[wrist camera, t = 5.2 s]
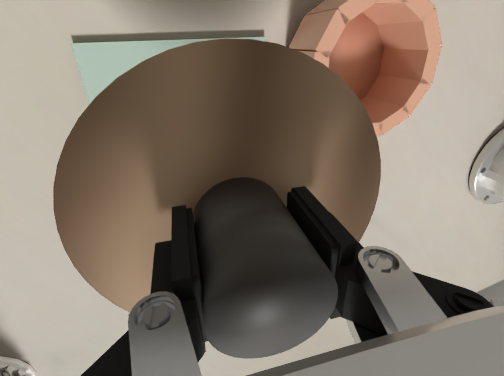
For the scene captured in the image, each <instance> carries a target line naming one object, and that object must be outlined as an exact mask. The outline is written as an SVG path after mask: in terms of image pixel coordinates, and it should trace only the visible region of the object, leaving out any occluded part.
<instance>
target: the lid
mask: <svg viewBox="0 0 504 376" xmlns="http://www.w3.org/2000/svg"><path fill="white" fill-rule="evenodd" d="M380 177H381V160H380V152H379V145H378V140H377V137H376V134H375V130H374V127H373V124H372V122H371V120H370V118H369V115H368V113H367V111H366V109H365V107H364V106H363V104H362V103H361V101H360V100H359V98H358V97H357V95H356V94H355V93H354V91H353V90H352V89H351V88H350V87H349V86H348V85H347V84H346V83H345V82H344V81H343V80H342V79H341V77H340V76H338V75H337V74H336V73H334V72H333V71H332V70H330V69H329V68H328V67H326V66H325V65H324V64H323V63H321V62H319V61H317V60H315V59H313V58H312V57H310V56H308V55H306V54H304V53H302V52H300V51H297V50H294V49H291V48H288V47H285V46H283V45H280V44H276V43H270V42H265V41H259V40H254V39H216V40H208V41H199V42H193V43H190V44H186V45H182V46H179V47H175V48H172V49H168V50H166V51H164V52H162V53H159V54H157V55H155V56H153V57H151V58H148V59H146V60H144V61H142V62H141V63H139V64H138V65H136V66H134V67H133V68H131V69H130V70H128V71H127V72H125V73H124V74H122V75H121V76H119V77H117V78H116V79H115V80H114V81H113V82H112V83H111V84H110V85H108V86H107V87H106V88H105V89H104V90H103V91H102V92H101V93H99V94H98V95H97V96H96V97H95V98H94V100H93V101H92V102H91V103H90V105H89V106H88V107H87V108H86V110H85V111H84V112H83V113H82V115H81V116H80V117H79V118H78V120H77V122H76V124H75V125H74V127H73V129H72V131H71V133H70V134H69V136H68V138H67V140H66V142H65V145H64V147H63V150H62V153H61V156H60V158H59V161H58V164H57V170H56V176H55V182H54V214H55V219H56V225H57V230H58V233H59V236H60V238H61V241H62V244H63V246H64V249H65V251H66V253H67V254H68V256H69V258H70V260H71V261H72V263H73V265H74V267H75V268H76V269H77V270H78V272H79V273H80V274H81V275H82V277H83V278H84V279H85V280H86V281H87V282H88V283H89V284H90V285H91V286H92V287H93V288H94V289H95V290H96V291H97V292H98V293H99V294H101V295H102V296H104V297H105V298H106V299H108V300H109V301H111V302H112V303H114V304H115V305H117V306H119V307H121V308H123V309H124V310H126V311H128V312H131V310H132V308H133V307H134V306H135V304H136V303H137V302H138V301H140V300H141V299H142V298H144V297H145V296H147V295H149V294H150V292H151V281H152V270H153V259H154V249H155V243H158V242H163V241H169V240H171V228H172V207H175V206H182V205H186V208H192V212H193V218H194V224H195V233H196V241H197V250H198V259H199V267H200V276H201V285H202V293H203V304H202V313H203V322H204V331H205V334H206V337H207V339H208V341H209V342H210V343H211V345H212V346H213V347H214V348H216V349H217V350H218V351H220V352H222V353H224V354H226V355H229V356H233V357H237V358H261V357H267V356H271V355H275V354H278V353H281V352H284V351H287V350H289V349H291V348H293V347H295V346H297V345H299V344H301V343H302V342H304V341H305V340H307V339H308V338H310V337H311V336H312V335H313V334H315V333H316V332H317V331H318V330H319V329H320V328H321V327H322V326H323V325H324V324H325V323H326V321H327V320H328V319H329V317H330V316H331V314H332V312H333V310H334V308H335V305H336V302H337V298H338V286H337V283H336V280H335V278H334V276H333V274H332V273H331V272H330V270H329V269H328V267H327V266H326V264H325V263H324V261H323V260H322V258H321V257H320V256H319V254H318V253H317V251H316V250H315V248H314V247H313V245H312V244H311V242H310V241H309V240H308V238H307V237H306V235H305V234H304V232H303V231H302V229H301V228H300V226H299V225H298V224H297V222H296V221H295V219H294V218H293V216H292V215H291V213H290V212H289V210H288V209H287V193H288V192H291V189H292V188H296V187H302V186H305V187H307V189H308V190H309V191H310V192H311V193H312V194H313V195H314V196H315V197H316V198H317V199H318V201H319V202H320V203H321V204H322V205H323V206H324V207H325V208H326V209H327V210H328V211H329V212H330V213H332V214H333V215H334V216H335V217H336V219H337V220H338V221H339V222H340V223H341V224H342V225H343V226H344V227H345V228H346V229H347V230H348V231H349V233H350V234H351V235H352V236H353V237H354V238H355V239H356V240H357V241H358V242H359V241H360V239H361V238H362V236H363V234H364V232H365V230H366V228H367V226H368V224H369V221H370V219H371V216H372V214H373V211H374V208H375V204H376V201H377V197H378V192H379V185H380Z"/></svg>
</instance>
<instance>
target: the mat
mask: <svg viewBox="0 0 504 376" xmlns="http://www.w3.org/2000/svg"><path fill="white" fill-rule="evenodd" d="M216 39H254V40H259V41H265V37H242V38H212V39H183V40H153V41H123V42H94V43H71V45H72V48H73V51H74V55H75V58H76V61H77V65H78V68H79V71H80V75H81V78H82V81H83V85H84V88H85V91H86V94H87V98H88V101H89V104H90V103H91V102H92V101H93V100H94V98H95V97H96V96H97V95H98V94H99V93H101V92H102V91H103V90H104V89H105V88H106V87H107V86H108V85H110V84H111V83H112V82H113V81H114V80H115V79H116V78H117V77H119V76H121V75H122V74H124V73H125V72H127V71H128V70H130V69H131V68H133V67H134V66H136V65H138V64H139V63H141V62H142V61H144V60H146V59H148V58H151V57H153V56H155V55H157V54H159V53H162V52H164V51H166V50H168V49H172V48H175V47H179V46H182V45H186V44H190V43H193V42H199V41H208V40H216Z"/></svg>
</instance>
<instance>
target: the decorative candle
mask: <svg viewBox="0 0 504 376" xmlns="http://www.w3.org/2000/svg"><path fill="white" fill-rule="evenodd" d="M0 376H36V372H35V370H34V369H33V368H32V367H31V365H29V364H27V363H25V362H23V361H21V360H19V359H15V358H9V357H4V356H0Z"/></svg>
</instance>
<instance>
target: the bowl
mask: <svg viewBox="0 0 504 376" xmlns="http://www.w3.org/2000/svg"><path fill="white" fill-rule="evenodd" d="M441 44H442V40H441V34H440V28H439V22H438V16H437V11H436V8H435V5H434V4H433V3H432V2H431V1H430V0H325V1H323V2H322V3H320V4H319V5H318V6H316V7H315V8H314V9H312V10H311V11H309V12H308V13H307V14H306V16H304V17H303V19H302V21H301V23H300V25H299V27H298V29H297V31H296V33H295V35H294V37H293V39H292V41H291V43H290V45H289V47H288V48H291V49H294V50H297V51H300V52H302V53H304V54H306V55H308V56H310V57H312V58H313V59H315V60H317V61H319V62H321V63H323V64H324V65H325V66H326V67H328V68H329V69H330V70H332V71H333V72H334V73H336V74H337V75H338V76H340V77H341V79H342V80H343V81H344V82H345V83H346V84H347V85H348V86H349V87H350V88H351V89H352V90H353V91H354V93H355V94H356V95H357V97H358V98H359V100H360V101H361V103H362V104H363V106H364V107H365V109H366V111H367V113H368V115H369V118H370V120H371V122H372V124H373V127H374V130H375V134H376V136H380V135H383V134H384V133H386V132H387V131H389V130H390V129H392V128H393V127H395V126H396V125H397V124H399V123H400V122H402V121H403V120H405V119H406V118H408V117H409V115H411V114H412V112H413V111H414V109H415V108H416V107H417V105H418V104H419V102H420V101H421V99H422V98H423V96H424V95H425V94H426V92H427V91H428V89H429V88H430V86H431V84H430V83H432V82H433V78H434V75H435V71H436V67H437V63H438V59H439V55H440V51H441V48H442V46H440V45H441Z"/></svg>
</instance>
